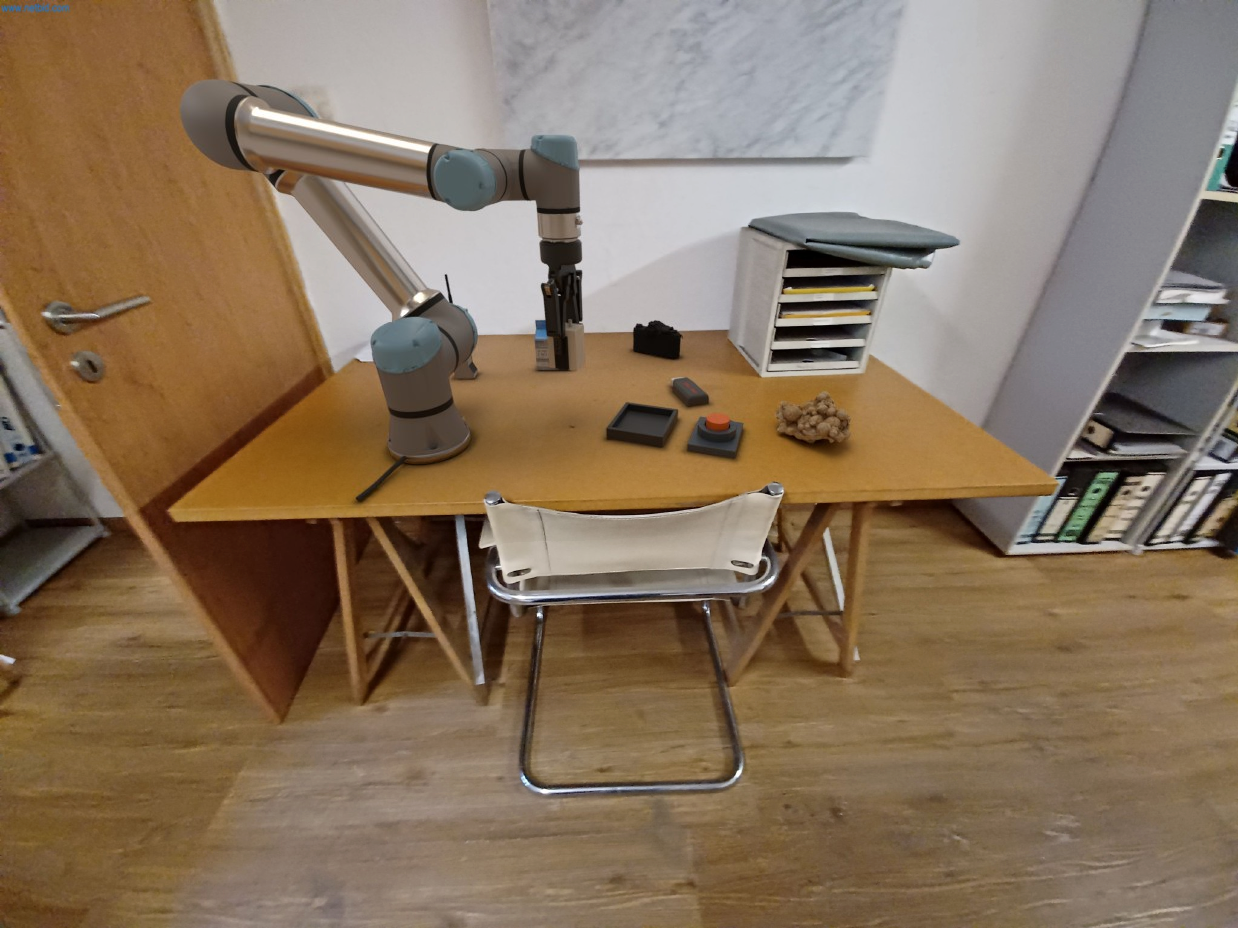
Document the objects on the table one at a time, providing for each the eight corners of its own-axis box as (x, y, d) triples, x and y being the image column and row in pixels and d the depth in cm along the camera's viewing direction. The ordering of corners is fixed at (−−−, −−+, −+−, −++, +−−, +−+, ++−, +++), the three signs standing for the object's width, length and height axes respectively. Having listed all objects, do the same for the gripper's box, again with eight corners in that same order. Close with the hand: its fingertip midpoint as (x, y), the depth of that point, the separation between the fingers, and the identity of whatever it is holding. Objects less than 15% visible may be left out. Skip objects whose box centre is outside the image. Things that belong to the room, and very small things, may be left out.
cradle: (662, 448, 96) (663, 437, 95) (606, 439, 100) (606, 428, 98) (677, 419, 106) (678, 409, 105) (626, 412, 110) (626, 401, 108)
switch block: (734, 459, 93) (736, 443, 91) (686, 451, 95) (687, 435, 93) (742, 430, 102) (744, 414, 100) (699, 423, 105) (700, 408, 103)
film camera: (691, 350, 142) (693, 319, 137) (675, 361, 135) (677, 328, 130) (644, 341, 149) (645, 311, 144) (627, 351, 142) (628, 319, 137)
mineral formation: (825, 417, 106) (869, 448, 93) (766, 433, 105) (802, 466, 92) (826, 382, 102) (872, 410, 89) (765, 398, 101) (802, 428, 88)
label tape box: (536, 370, 130) (531, 324, 124) (539, 365, 134) (534, 319, 127) (570, 371, 130) (567, 324, 123) (572, 365, 133) (569, 319, 127)
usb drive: (687, 407, 111) (688, 396, 110) (666, 386, 121) (667, 376, 119) (708, 404, 112) (709, 393, 111) (686, 384, 122) (687, 373, 121)
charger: (577, 371, 98) (574, 323, 93) (549, 367, 100) (545, 320, 95) (585, 363, 102) (583, 317, 97) (558, 360, 104) (555, 314, 98)
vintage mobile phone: (474, 379, 126) (456, 275, 113) (455, 379, 126) (434, 276, 113) (478, 373, 129) (461, 272, 116) (459, 373, 129) (440, 272, 116)
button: (726, 433, 95) (727, 425, 94) (703, 429, 96) (704, 421, 95) (730, 423, 98) (731, 415, 97) (708, 419, 99) (708, 411, 98)
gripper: (558, 248, 80) (566, 382, 93) (597, 233, 94) (600, 352, 107) (517, 245, 82) (530, 377, 95) (561, 231, 96) (568, 348, 109)
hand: (567, 363), depth 101 cm, fingers closed on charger, 4 cm apart
